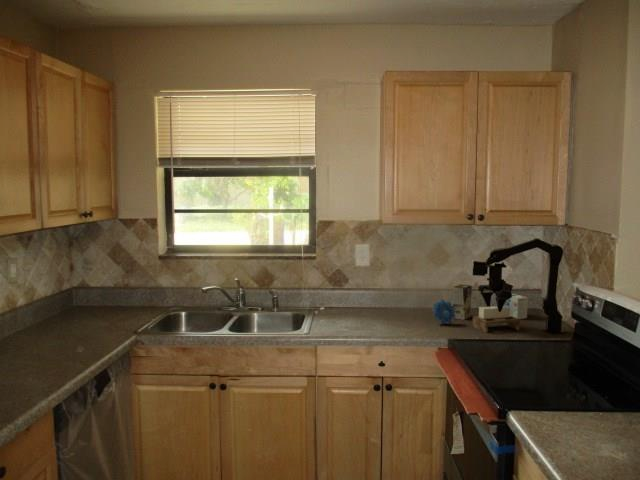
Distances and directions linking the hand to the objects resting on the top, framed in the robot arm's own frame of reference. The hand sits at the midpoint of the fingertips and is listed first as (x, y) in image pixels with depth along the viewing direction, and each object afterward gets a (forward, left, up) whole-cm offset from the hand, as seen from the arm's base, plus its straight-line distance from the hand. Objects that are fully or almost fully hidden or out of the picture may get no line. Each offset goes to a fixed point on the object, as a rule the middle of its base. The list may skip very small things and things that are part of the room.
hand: (494, 309), depth 246 cm
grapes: (+10, +20, -9) cm, 24 cm away
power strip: (0, 0, -6) cm, 6 cm away
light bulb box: (+15, -22, -9) cm, 28 cm away
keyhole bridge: (-2, 0, -8) cm, 9 cm away
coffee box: (+20, +5, -9) cm, 23 cm away
